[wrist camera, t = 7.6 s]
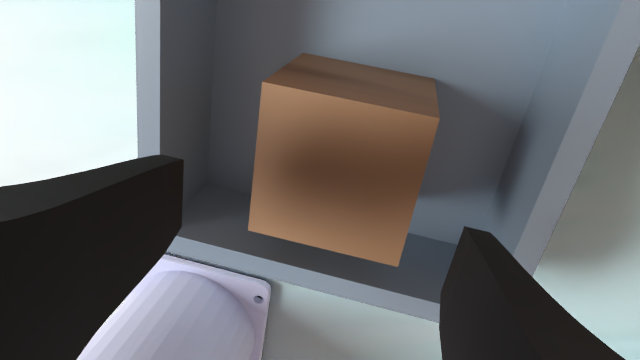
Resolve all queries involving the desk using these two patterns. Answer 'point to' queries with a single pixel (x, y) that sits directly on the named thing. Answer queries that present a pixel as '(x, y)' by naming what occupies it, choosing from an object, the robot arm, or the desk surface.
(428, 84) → the walnut cube
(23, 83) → the desk surface
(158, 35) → the tote
